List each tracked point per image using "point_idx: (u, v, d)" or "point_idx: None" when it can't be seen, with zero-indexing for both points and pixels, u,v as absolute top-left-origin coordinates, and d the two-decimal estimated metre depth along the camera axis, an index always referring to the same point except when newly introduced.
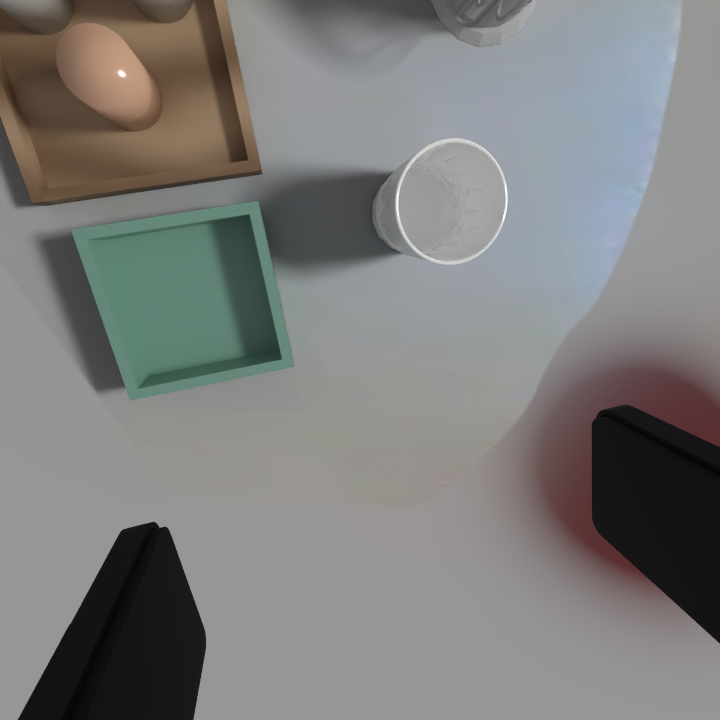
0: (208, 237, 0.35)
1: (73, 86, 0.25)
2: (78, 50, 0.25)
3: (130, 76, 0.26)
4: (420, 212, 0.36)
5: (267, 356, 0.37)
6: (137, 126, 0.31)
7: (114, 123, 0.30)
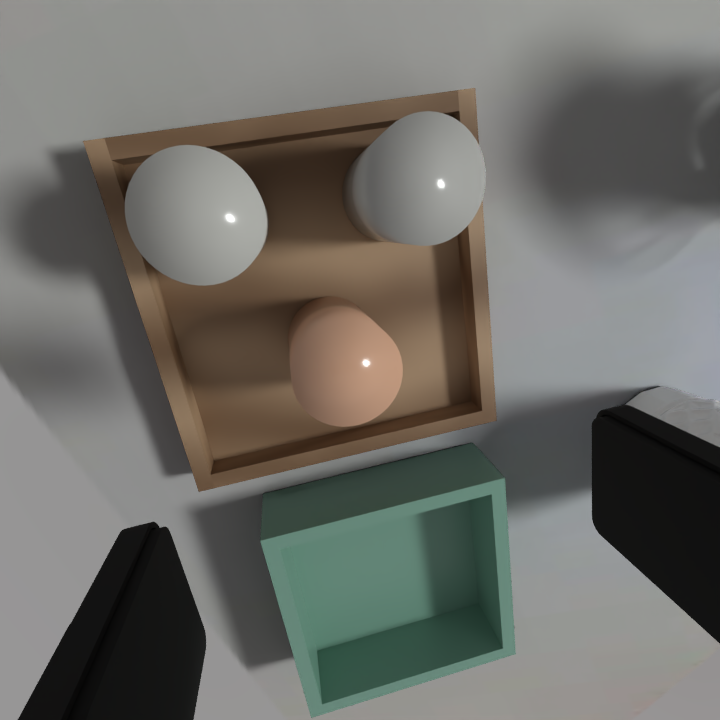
0: None
1: (311, 405, 0.17)
2: (324, 357, 0.16)
3: (392, 382, 0.17)
4: None
5: (471, 627, 0.28)
6: None
7: None
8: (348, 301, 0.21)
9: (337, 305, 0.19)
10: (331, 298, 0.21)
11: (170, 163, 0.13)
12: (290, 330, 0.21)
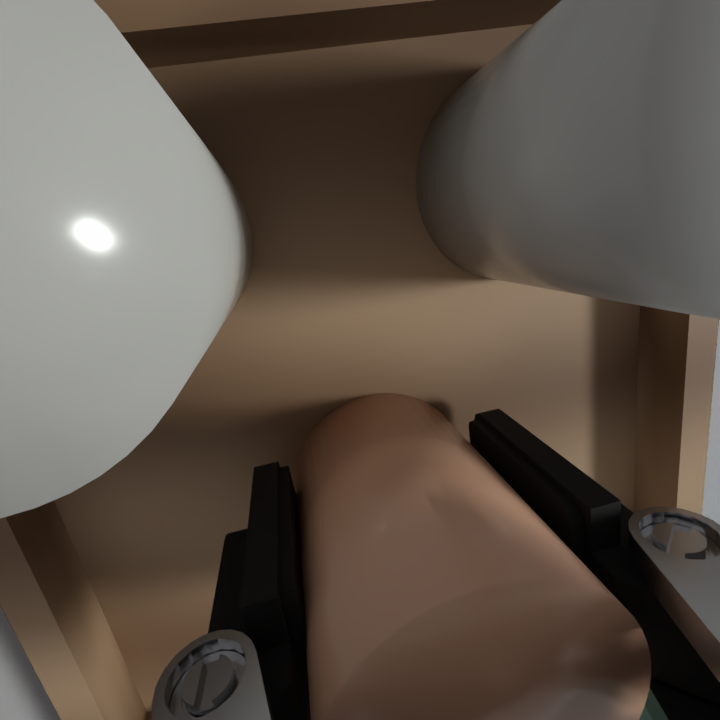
0: None
1: None
2: (425, 697, 0.05)
3: None
4: None
5: None
6: None
7: None
8: (424, 408, 0.10)
9: (419, 446, 0.08)
10: (390, 404, 0.10)
11: None
12: (301, 479, 0.09)
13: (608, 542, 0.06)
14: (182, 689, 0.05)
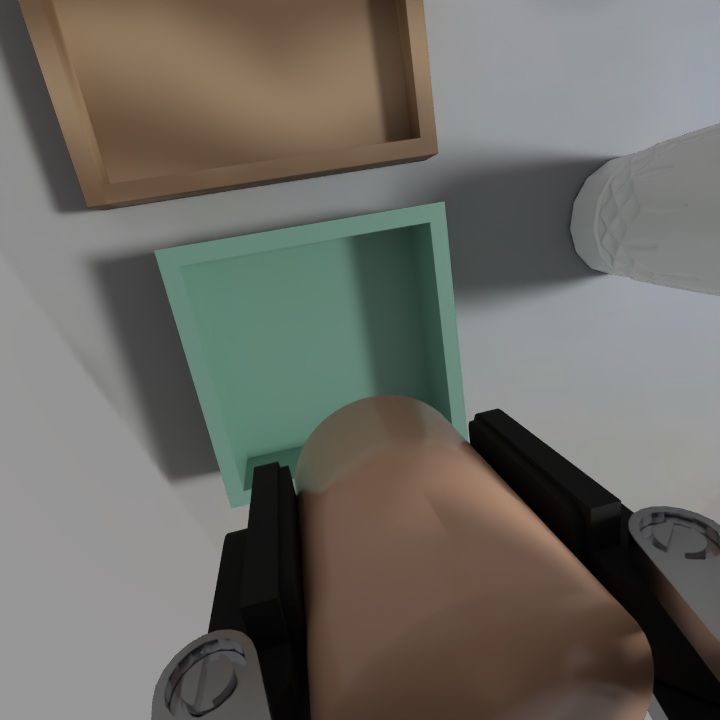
0: (344, 256, 0.23)
1: None
2: (427, 702, 0.05)
3: None
4: None
5: None
6: None
7: None
8: (425, 409, 0.10)
9: (420, 449, 0.08)
10: (390, 406, 0.10)
11: None
12: (301, 481, 0.09)
13: (608, 542, 0.06)
14: (182, 689, 0.05)
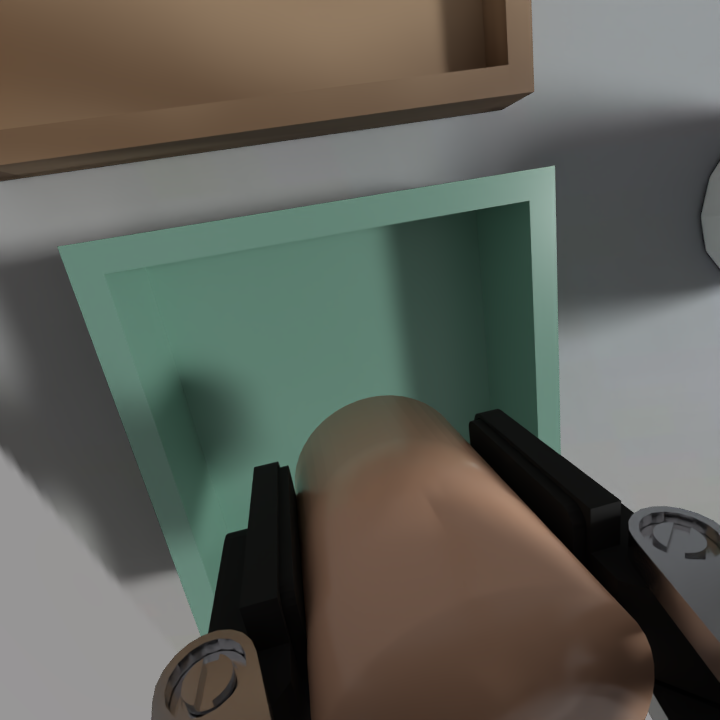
0: (378, 256, 0.15)
1: None
2: (427, 704, 0.05)
3: None
4: None
5: None
6: None
7: None
8: (425, 410, 0.10)
9: (420, 449, 0.08)
10: (390, 407, 0.10)
11: None
12: (301, 482, 0.09)
13: (608, 542, 0.06)
14: (182, 689, 0.05)
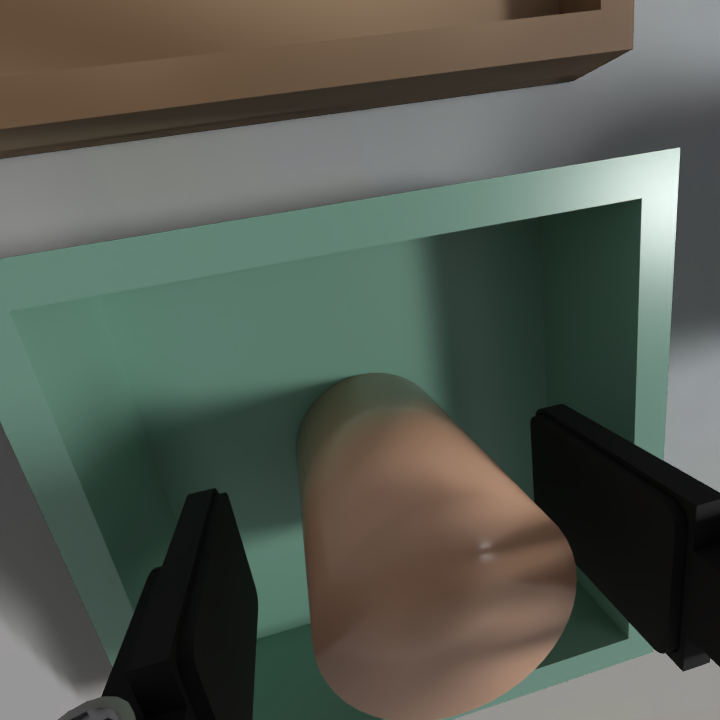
0: (411, 274, 0.11)
1: (360, 689, 0.07)
2: (397, 585, 0.06)
3: (549, 619, 0.07)
4: None
5: None
6: None
7: None
8: (408, 384, 0.11)
9: (400, 410, 0.09)
10: (378, 381, 0.11)
11: None
12: (301, 444, 0.11)
13: (711, 540, 0.06)
14: None
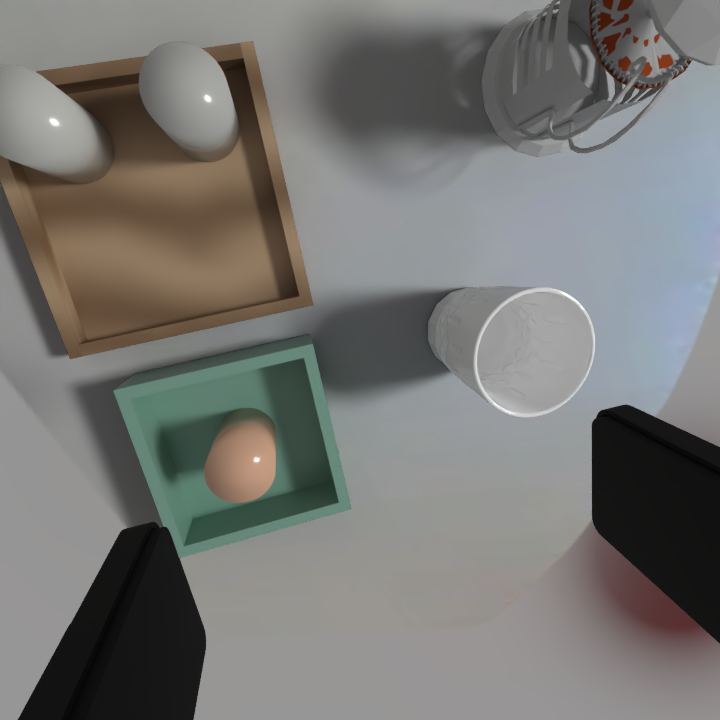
0: (255, 372, 0.32)
1: (218, 491, 0.27)
2: (224, 462, 0.27)
3: (269, 474, 0.28)
4: None
5: (320, 493, 0.33)
6: None
7: None
8: (255, 411, 0.32)
9: (241, 421, 0.30)
10: (243, 411, 0.32)
11: None
12: None
13: None
14: None
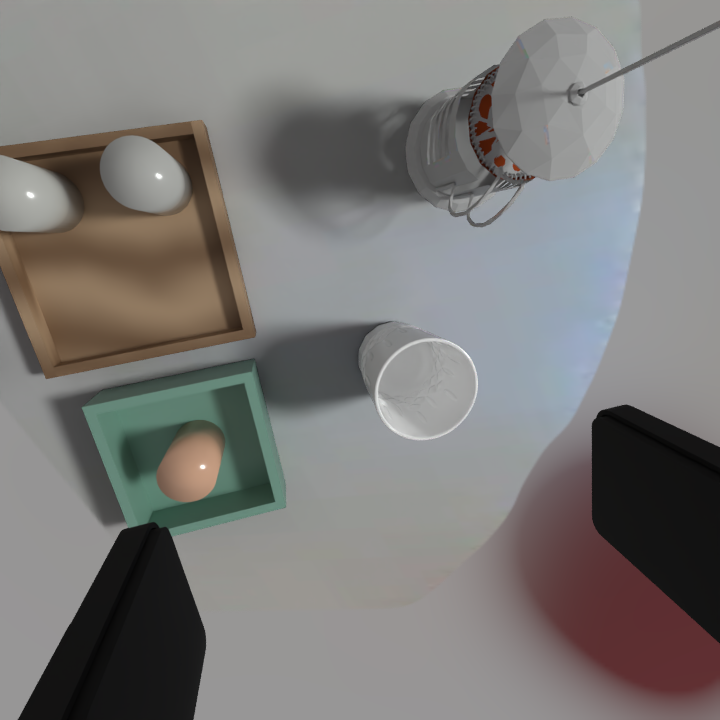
0: (206, 390, 0.38)
1: (168, 492, 0.33)
2: (173, 469, 0.33)
3: (211, 479, 0.33)
4: (402, 361, 0.39)
5: (262, 493, 0.39)
6: None
7: None
8: (206, 424, 0.38)
9: (192, 433, 0.35)
10: (196, 423, 0.37)
11: None
12: None
13: None
14: None
